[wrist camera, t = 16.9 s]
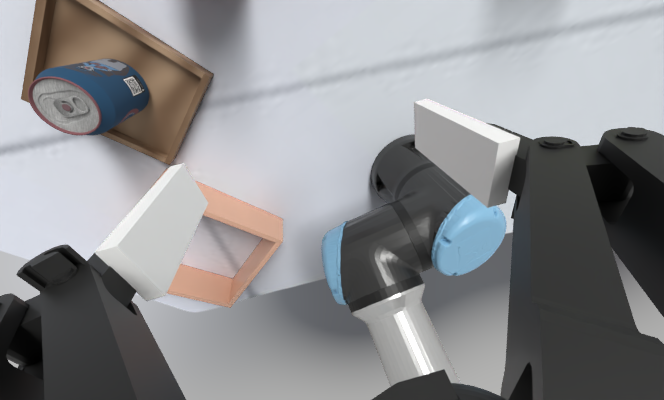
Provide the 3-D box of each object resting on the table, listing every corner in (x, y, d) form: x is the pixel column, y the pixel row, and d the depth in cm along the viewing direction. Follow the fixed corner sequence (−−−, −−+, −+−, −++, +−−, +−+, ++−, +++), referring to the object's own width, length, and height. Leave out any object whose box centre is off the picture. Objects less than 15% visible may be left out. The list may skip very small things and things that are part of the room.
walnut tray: (213, 74, 37) (209, 76, 35) (174, 158, 43) (169, 164, 41) (57, -27, 29) (40, -31, 27) (36, 94, 35) (20, 99, 33)
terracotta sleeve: (282, 218, 54) (282, 241, 48) (234, 282, 63) (230, 307, 57) (166, 168, 44) (149, 189, 38) (128, 252, 52) (109, 280, 46)
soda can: (116, 115, 37) (58, 147, 27) (80, 63, 33) (-3, 78, 23) (163, 105, 37) (122, 132, 28) (133, 52, 33) (73, 62, 24)
